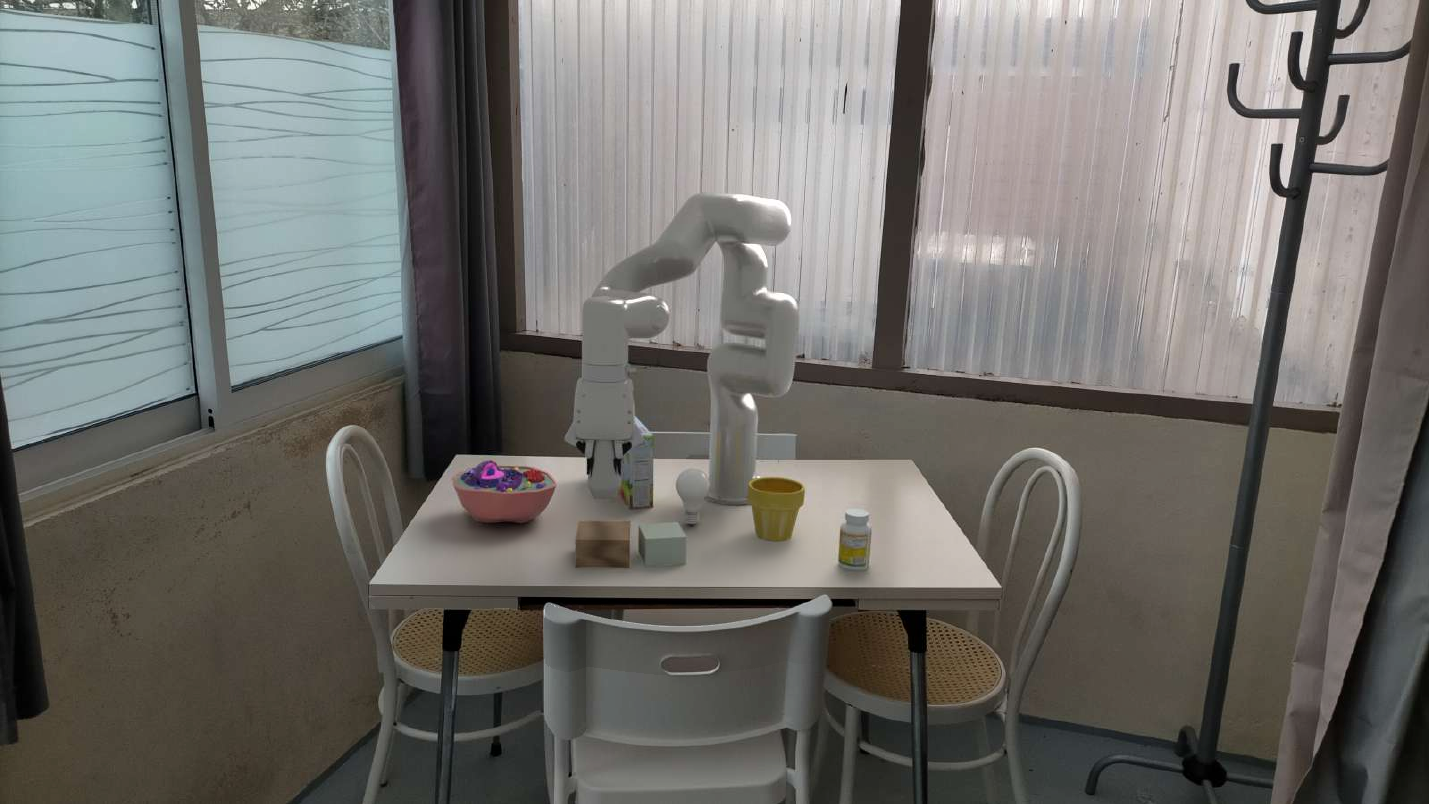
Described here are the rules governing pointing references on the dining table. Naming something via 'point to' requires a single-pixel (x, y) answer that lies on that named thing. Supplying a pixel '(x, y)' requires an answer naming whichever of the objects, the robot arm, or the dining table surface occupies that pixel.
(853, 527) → the supplement bottle
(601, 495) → the salt shaker
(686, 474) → the lightbulb
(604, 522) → the walnut block
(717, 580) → the dining table surface
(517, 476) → the cell model
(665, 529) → the sage block
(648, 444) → the snack box
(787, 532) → the plant pot
